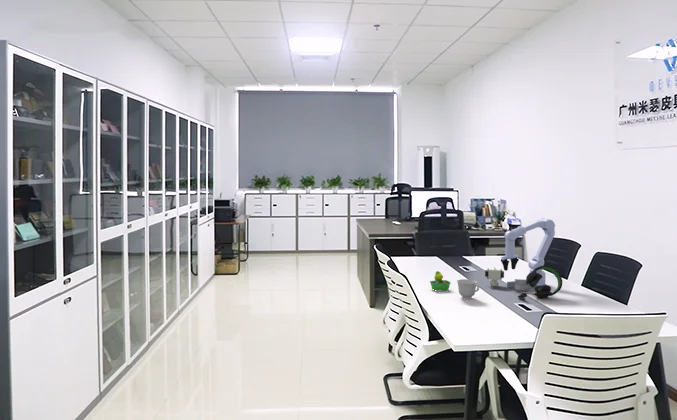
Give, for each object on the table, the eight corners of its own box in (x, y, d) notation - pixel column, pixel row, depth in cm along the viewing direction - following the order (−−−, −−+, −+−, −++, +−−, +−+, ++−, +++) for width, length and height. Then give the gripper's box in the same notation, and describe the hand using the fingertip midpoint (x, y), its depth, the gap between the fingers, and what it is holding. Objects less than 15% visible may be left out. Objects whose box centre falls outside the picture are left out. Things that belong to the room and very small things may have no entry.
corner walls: (524, 285, 318) (524, 280, 318) (540, 290, 304) (541, 285, 304) (506, 287, 314) (506, 281, 314) (522, 292, 300) (522, 286, 299)
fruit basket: (434, 291, 303) (434, 273, 302) (428, 288, 312) (428, 271, 311) (451, 290, 305) (451, 272, 304) (445, 287, 314) (445, 270, 313)
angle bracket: (531, 289, 307) (531, 279, 306) (532, 291, 301) (533, 281, 301) (514, 288, 309) (514, 279, 309) (515, 290, 303) (515, 281, 303)
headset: (525, 312, 287) (564, 287, 290) (532, 308, 274) (573, 282, 277) (506, 286, 293) (545, 262, 296) (512, 281, 280) (553, 256, 284)
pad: (523, 286, 315) (523, 286, 315) (536, 290, 303) (536, 290, 303) (509, 287, 311) (509, 287, 311) (522, 292, 300) (522, 291, 300)
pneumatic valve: (503, 287, 314) (504, 268, 313) (484, 285, 317) (485, 267, 316) (503, 285, 319) (504, 267, 318) (485, 284, 323) (485, 266, 322)
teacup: (471, 302, 276) (471, 285, 275) (452, 297, 288) (452, 280, 288) (485, 299, 282) (485, 283, 281) (466, 294, 295) (466, 278, 294)
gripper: (507, 251, 312) (507, 272, 313) (522, 249, 319) (521, 269, 320) (498, 249, 318) (498, 270, 319) (513, 247, 325) (512, 267, 326)
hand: (509, 269), depth 320 cm, fingers open, 7 cm apart
